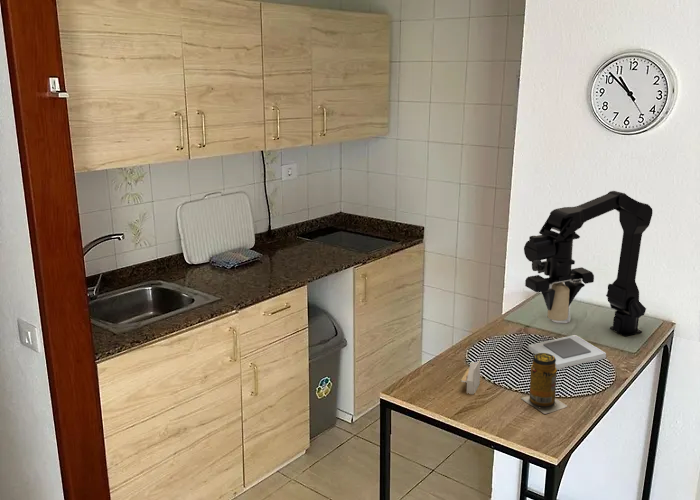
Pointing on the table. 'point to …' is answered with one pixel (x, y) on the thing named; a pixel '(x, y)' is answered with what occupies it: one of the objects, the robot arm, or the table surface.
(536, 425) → the table surface
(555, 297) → the candle
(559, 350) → the white flat block
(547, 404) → the condiment
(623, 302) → the robot arm
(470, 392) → the architectural model
